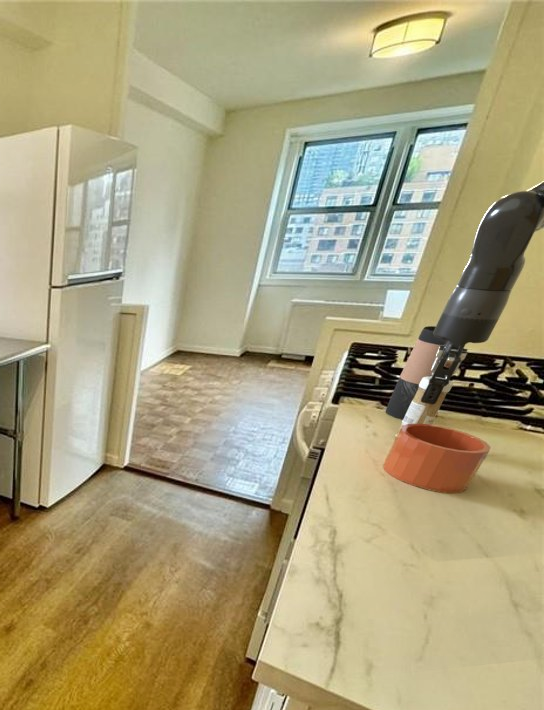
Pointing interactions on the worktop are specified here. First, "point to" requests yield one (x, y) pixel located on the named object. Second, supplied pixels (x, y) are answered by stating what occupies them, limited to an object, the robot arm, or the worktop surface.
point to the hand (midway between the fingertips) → (428, 398)
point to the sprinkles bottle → (424, 406)
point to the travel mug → (414, 372)
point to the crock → (435, 457)
